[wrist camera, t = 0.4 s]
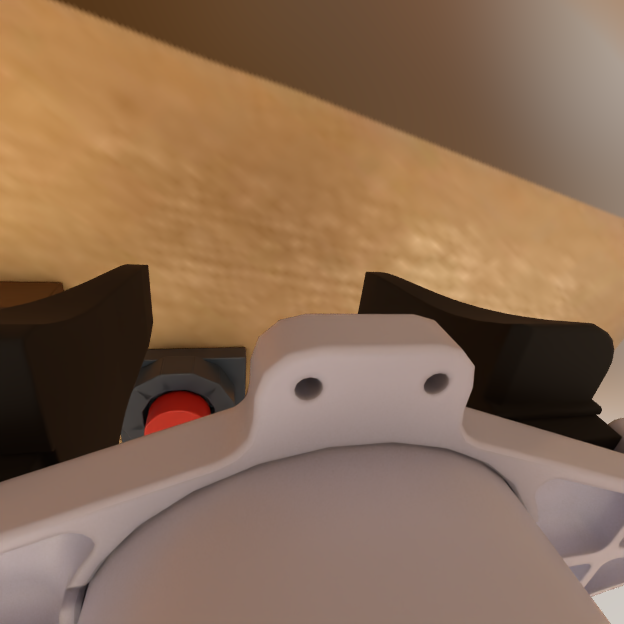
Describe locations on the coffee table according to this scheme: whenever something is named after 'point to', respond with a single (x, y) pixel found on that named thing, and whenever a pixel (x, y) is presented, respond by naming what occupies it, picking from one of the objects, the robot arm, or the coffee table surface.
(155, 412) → the button
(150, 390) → the button block
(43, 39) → the coffee table surface
